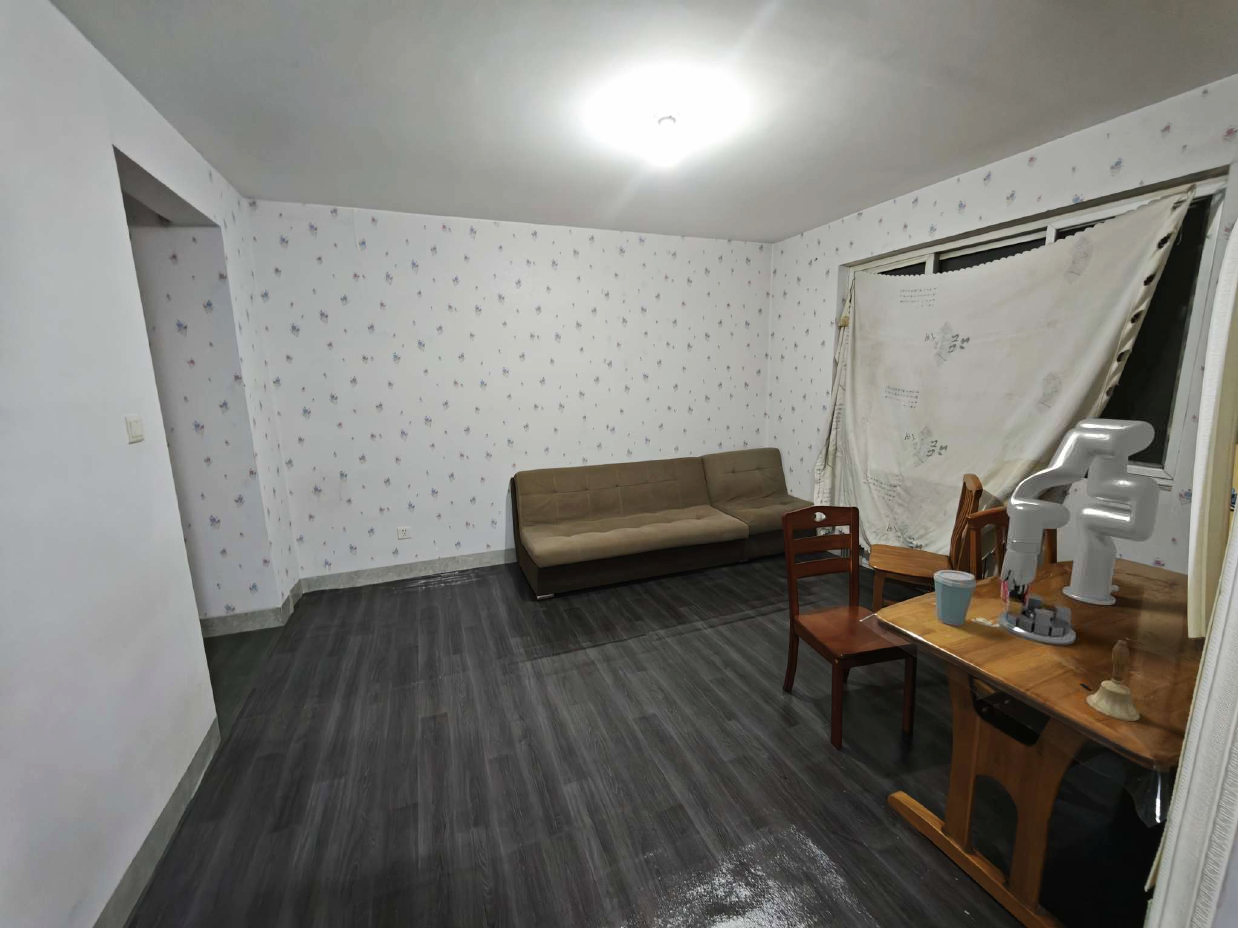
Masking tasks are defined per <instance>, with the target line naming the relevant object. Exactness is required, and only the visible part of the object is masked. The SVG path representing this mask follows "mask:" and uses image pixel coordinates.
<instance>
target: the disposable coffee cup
mask: <svg viewBox="0 0 1238 928" xmlns="http://www.w3.org/2000/svg"><path fill="white" fill-rule="evenodd" d="M933 579H934V589H935V591H934V593H935V606H936V608H935V609H936V616H937V617H936V618H937V620H938V621H940V622H941V623H943V624H946V625H948V626H949V625H950V626H955V627H956V626H957V627H958V626H959V627H960V626H962V625H963V623H965V620H966V617H967V614H968V611H969V606H970V605H971V602H972V597H973V596H974V595H973V594H974V592H975V589H976V587H977V581H976V578H975V574H972V573H969V572H966V571H961V570H952V569H951V570H950V569H945V570H944V569H943V570H939V571H936V572H935V573H934V574H933Z"/></svg>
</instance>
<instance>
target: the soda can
mask: <svg viewBox="0 0 1238 928" xmlns="http://www.w3.org/2000/svg"><path fill="white" fill-rule="evenodd" d="M1007 583H1008V580H1007V581H1005V582H1003V581H1001V587H1000V598H1001V599H1002V600H1003V601H1004V602H1006V603H1007V599H1008V597H1009V592H1010V591H1009V589H1008V588H1007ZM1031 583H1032V582H1029V583H1028V584H1027V589H1026V592H1025V598H1024V605H1026V599H1027V595H1030V589H1031Z"/></svg>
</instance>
